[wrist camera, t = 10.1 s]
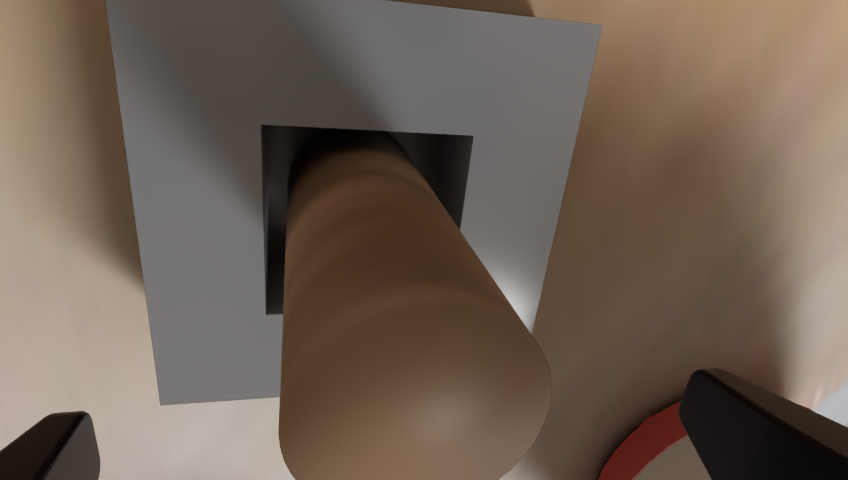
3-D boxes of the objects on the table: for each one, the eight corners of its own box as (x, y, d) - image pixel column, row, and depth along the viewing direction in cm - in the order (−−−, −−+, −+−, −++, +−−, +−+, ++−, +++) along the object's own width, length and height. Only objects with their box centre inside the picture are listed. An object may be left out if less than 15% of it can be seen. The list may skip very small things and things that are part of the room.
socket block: (186, 324, 18) (160, 405, 15) (151, -27, 14) (100, -33, 10) (483, 314, 21) (521, 380, 17) (535, 17, 16) (602, 25, 13)
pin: (288, 245, 17) (280, 532, 8) (287, 120, 15) (276, 307, 6) (409, 245, 18) (524, 501, 9) (421, 128, 16) (578, 297, 7)
